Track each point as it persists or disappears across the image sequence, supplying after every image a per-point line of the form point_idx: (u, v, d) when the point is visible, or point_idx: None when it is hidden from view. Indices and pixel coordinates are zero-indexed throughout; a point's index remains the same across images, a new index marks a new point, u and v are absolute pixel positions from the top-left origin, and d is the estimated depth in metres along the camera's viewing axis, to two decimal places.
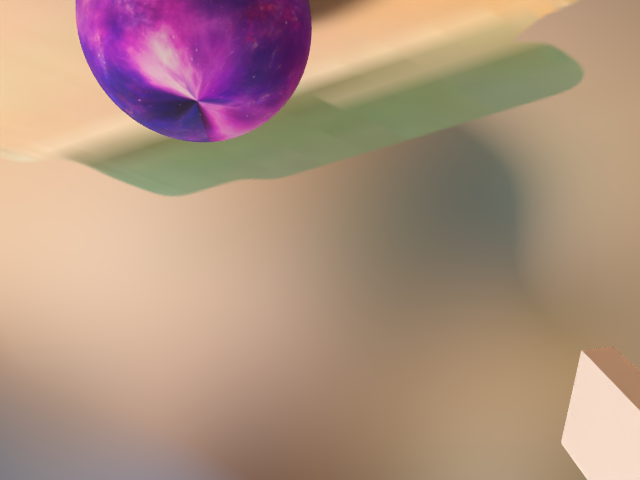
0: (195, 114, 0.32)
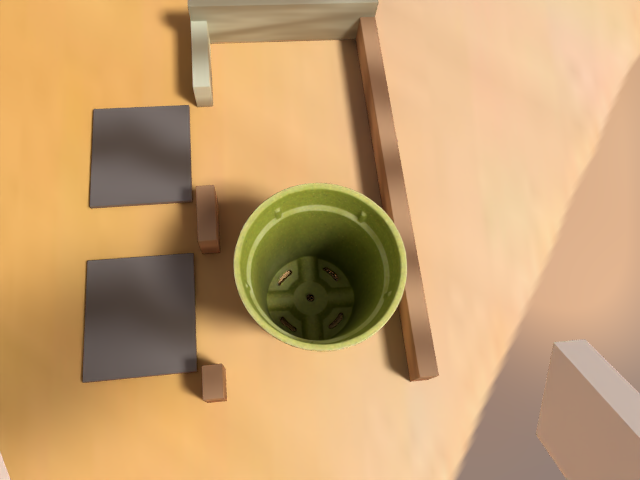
0: None
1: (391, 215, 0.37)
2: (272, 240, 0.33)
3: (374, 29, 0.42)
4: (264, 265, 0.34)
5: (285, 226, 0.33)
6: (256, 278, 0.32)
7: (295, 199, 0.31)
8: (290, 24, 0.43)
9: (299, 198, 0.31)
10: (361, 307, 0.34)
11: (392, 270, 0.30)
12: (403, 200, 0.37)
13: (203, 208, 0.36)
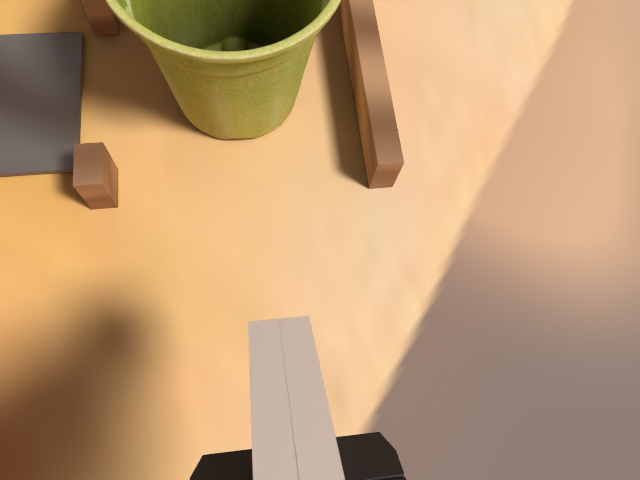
0: None
1: None
2: None
3: None
4: (165, 18, 0.25)
5: None
6: (147, 19, 0.23)
7: None
8: None
9: None
10: (299, 78, 0.25)
11: None
12: None
13: None
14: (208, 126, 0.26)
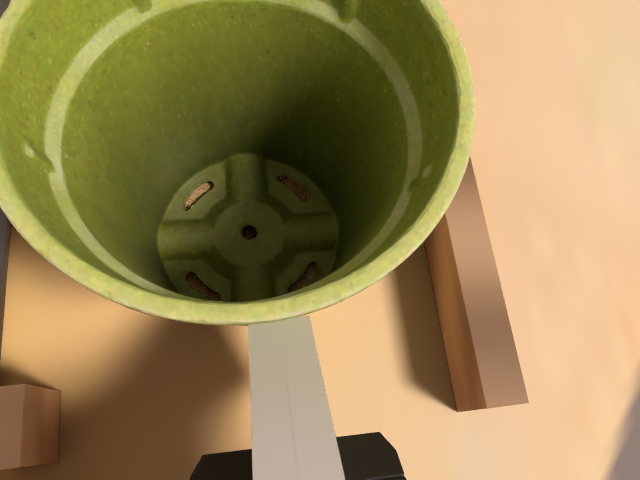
0: None
1: None
2: (142, 80, 0.14)
3: None
4: (134, 149, 0.15)
5: (171, 46, 0.14)
6: (101, 166, 0.13)
7: None
8: None
9: None
10: (353, 240, 0.16)
11: (429, 119, 0.12)
12: None
13: None
14: None
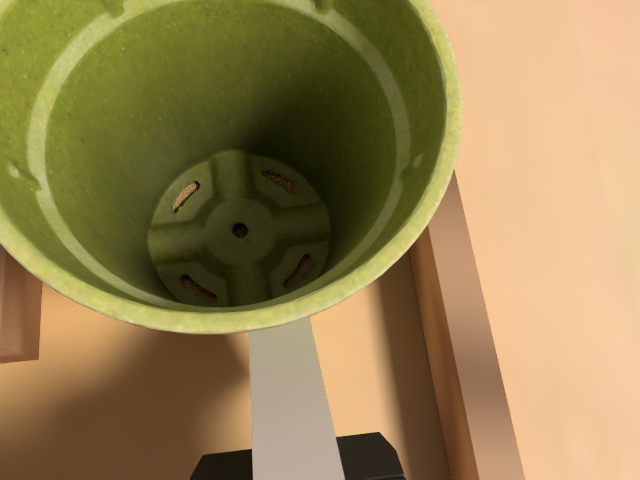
0: None
1: (432, 269, 0.16)
2: (120, 86, 0.14)
3: None
4: (117, 156, 0.15)
5: (146, 49, 0.14)
6: (86, 177, 0.13)
7: None
8: None
9: None
10: (346, 231, 0.16)
11: (415, 107, 0.12)
12: (459, 233, 0.16)
13: None
14: None
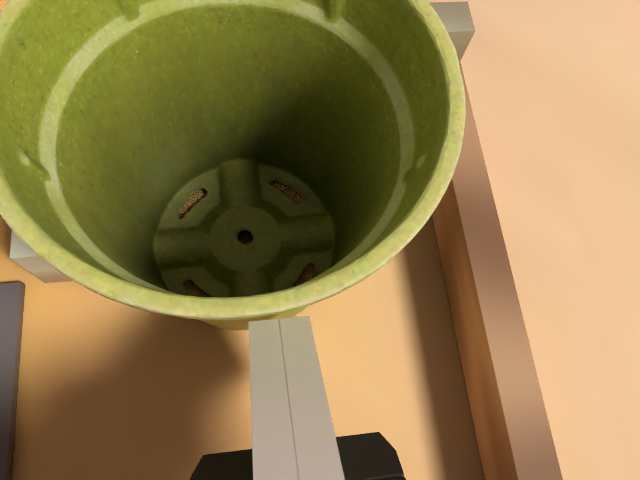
0: None
1: None
2: (132, 88, 0.14)
3: None
4: (127, 158, 0.15)
5: (160, 54, 0.14)
6: (95, 175, 0.14)
7: None
8: None
9: None
10: (350, 238, 0.16)
11: (419, 111, 0.12)
12: None
13: None
14: (207, 321, 0.16)
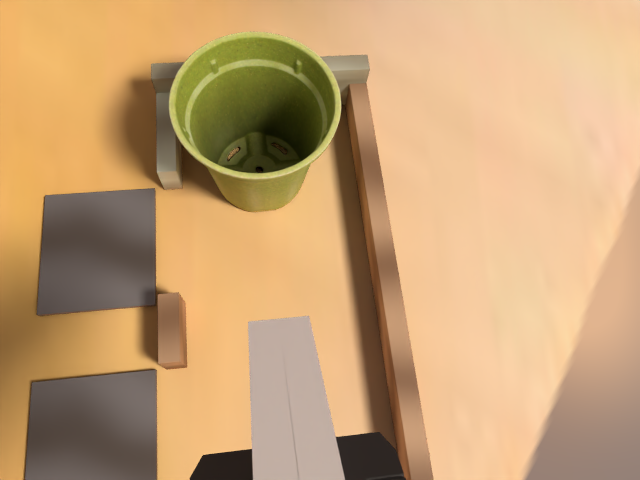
0: None
1: (385, 324, 0.32)
2: (213, 100, 0.33)
3: (365, 98, 0.37)
4: (208, 130, 0.34)
5: (224, 85, 0.33)
6: (198, 137, 0.33)
7: (230, 52, 0.32)
8: None
9: (234, 49, 0.31)
10: None
11: (328, 112, 0.31)
12: (399, 306, 0.32)
13: (165, 321, 0.31)
14: (242, 205, 0.35)
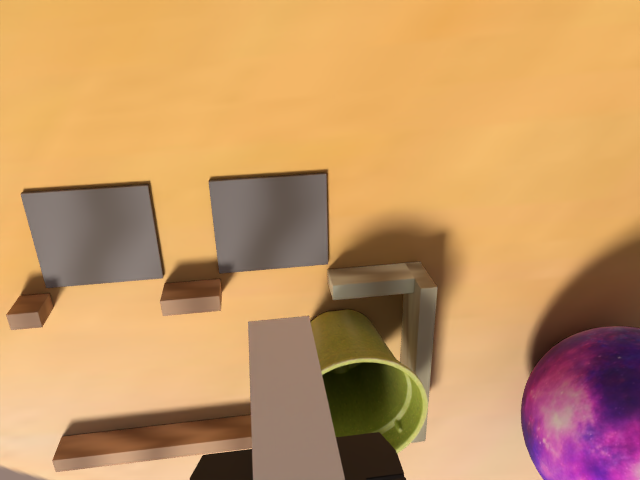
0: None
1: (198, 439, 0.43)
2: (385, 349, 0.38)
3: None
4: None
5: None
6: (352, 337, 0.38)
7: (415, 385, 0.36)
8: (407, 359, 0.43)
9: (416, 390, 0.36)
10: (328, 394, 0.42)
11: None
12: (211, 450, 0.43)
13: (195, 303, 0.37)
14: None
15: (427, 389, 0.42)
